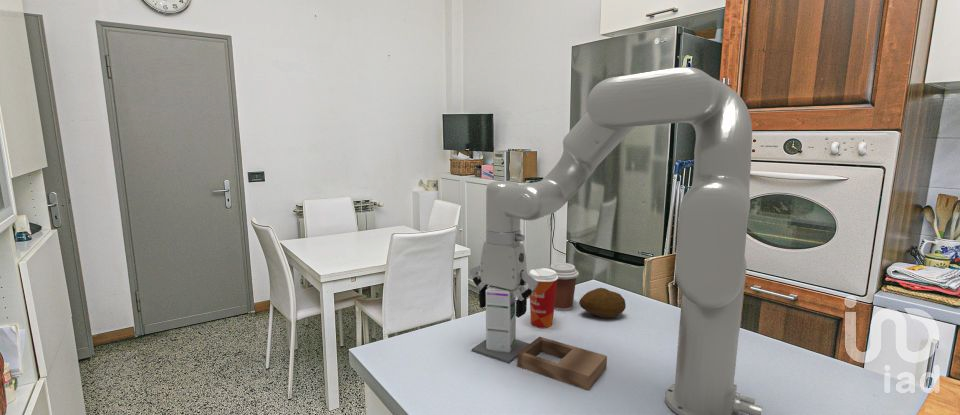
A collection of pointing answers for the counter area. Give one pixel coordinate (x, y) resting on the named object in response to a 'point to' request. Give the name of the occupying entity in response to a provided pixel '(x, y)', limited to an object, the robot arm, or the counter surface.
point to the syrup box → (500, 319)
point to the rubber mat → (500, 355)
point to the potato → (603, 303)
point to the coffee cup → (564, 285)
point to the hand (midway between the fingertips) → (502, 310)
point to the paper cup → (543, 297)
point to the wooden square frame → (563, 362)
